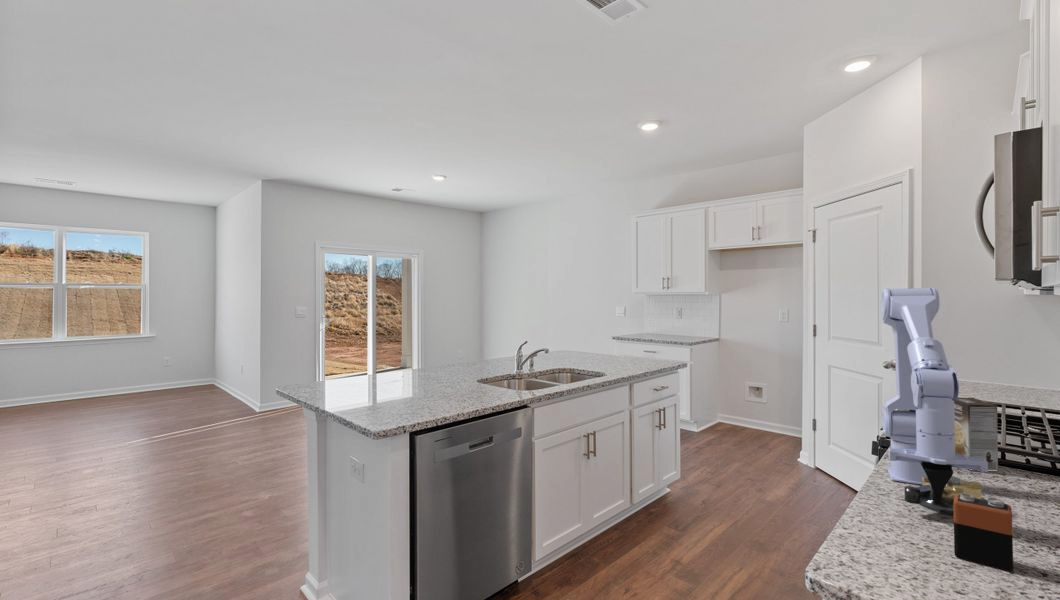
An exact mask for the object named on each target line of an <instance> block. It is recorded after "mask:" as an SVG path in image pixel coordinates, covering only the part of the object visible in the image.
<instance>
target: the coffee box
mask: <svg viewBox="0 0 1060 600" xmlns="http://www.w3.org/2000/svg"><path fill="white" fill-rule="evenodd" d="M952 400H953V401H954V416H955V454H956V455H962V456H968V457H974V458H980V459H985V460H986V461H987V462H988V470H997V471H998V472H999V463H998V462H999V460H998V459H999V458H998V457H999V456H998V455H999V451H998V450H999V449H998V446H999V443H998V441H999V440H998V438H999V437H998V433H999V432H998V431H999V430H998V405H996V404H994V403H991V402H987V401H985V400H981V399H978V398H975V397H958V398H957V400H954V399H952ZM970 470H971V469H970Z"/></svg>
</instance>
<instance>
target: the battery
mask: <svg viewBox="0 0 1060 600" xmlns="http://www.w3.org/2000/svg"><path fill="white" fill-rule="evenodd" d="M984 499H985V498H984ZM984 499H978V498H973V496H972V495H970V494H965V493H962V494H961V495H955V497H954V503H953V508H954V516H953V542H954V543H953V546H954V553H953V554H954V556H955V557H956V558H957V559H958V558H959V559H961V560H965V561H969V562H973V563H977V564H980V565H984V566H988V567H992V568H995V569H999V570H1003V571H1007V572H1012V571H1014V547H1013V546H1014V545H1013V543H1014V540H1013V536H1014V535H1013V534H1014V533H1013V510H1012V507H1011V505H1010V504H1009V503H1005V500H1004V499H1000V498H997V497H990V496H989V497H987V499H986V500H984Z"/></svg>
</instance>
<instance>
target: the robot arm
mask: <svg viewBox="0 0 1060 600" xmlns="http://www.w3.org/2000/svg"><path fill="white" fill-rule="evenodd" d="M880 297H881V300H880V303H881V305H880V307H881V319H882V321H883V322H882V323H883V324H886V325H887V326H891V329H892V331H893V332H892V333H893V336H894V339H893V340H894V358H895V360H894V361H895V362H894V363H895V365H894V366H895V384H896V385H895V387H896V388H895V389H896V395H895V396H894V397H892V398H890V399H888V400H887V401H884V403H883V405H882V413H881V414H882V416H881V425H882V426H881V427H882V431H883V434H884V435H885V436H886V437H889V439H890V447H888V449H887V450H888V459H889V461H890V466H887V467H886V469H887V471H888V472H887V473H888V475H889V478H890V480H891V481H894V482H899V483H900V482H901V483H908V484H915V485H920V486H923V480H922V476H925V477H928V480H929V482H930V485H931V487H932V491H933V502H934V504H936V505H941V495H942V492H943V490H944V488H945V486H946V484H947V482H948V481H949V480H950V478H951V477H953V476H954V470H953V468H955V469H956V468H958V469H965V470H967V469H972V470H979V471H978V472H982V473H989V471H988V462H987V461H986V460H985V459H980V458H974V457H968V456H962V455H956V454H955V416H954V401H953V400H952V399H954V400H957V398H959V393H960V380H959V377H958V374H957V372H956V370H955V369H954V368H953V366H952V365H951V364H950V365H949V364H948V363H949V362H948V360H947V356H946V353H945V350H944V346H943V344H942V342H941V341H939V340H937V339H935V338H934V335H933V334H934V333H933V328H932V327H933V325H932V322H933V320H935V319H934V318H935V317H936V316H937V313H938V312H939V310H940V295H939V291H938V290H937V289H936V288H935V287H921V288H919V287H915V288H884V290H882V292H881V296H880ZM908 410H909V411H908Z"/></svg>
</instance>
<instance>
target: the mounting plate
mask: <svg viewBox="0 0 1060 600" xmlns="http://www.w3.org/2000/svg"><path fill="white" fill-rule="evenodd" d="M982 499H984V500H987V499H986V498H984V497H982ZM919 505H920V506H922V507H923V508H927V509H929V510H932V511H934V512H937V513H941V514H944V515H948V516H949V515H950V516H952V517H954V508H953V504H950V503H945V502H942V501H941V505H936V504H934V502H933V500H931V501H926V502H922V503H920V504H919Z"/></svg>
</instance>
